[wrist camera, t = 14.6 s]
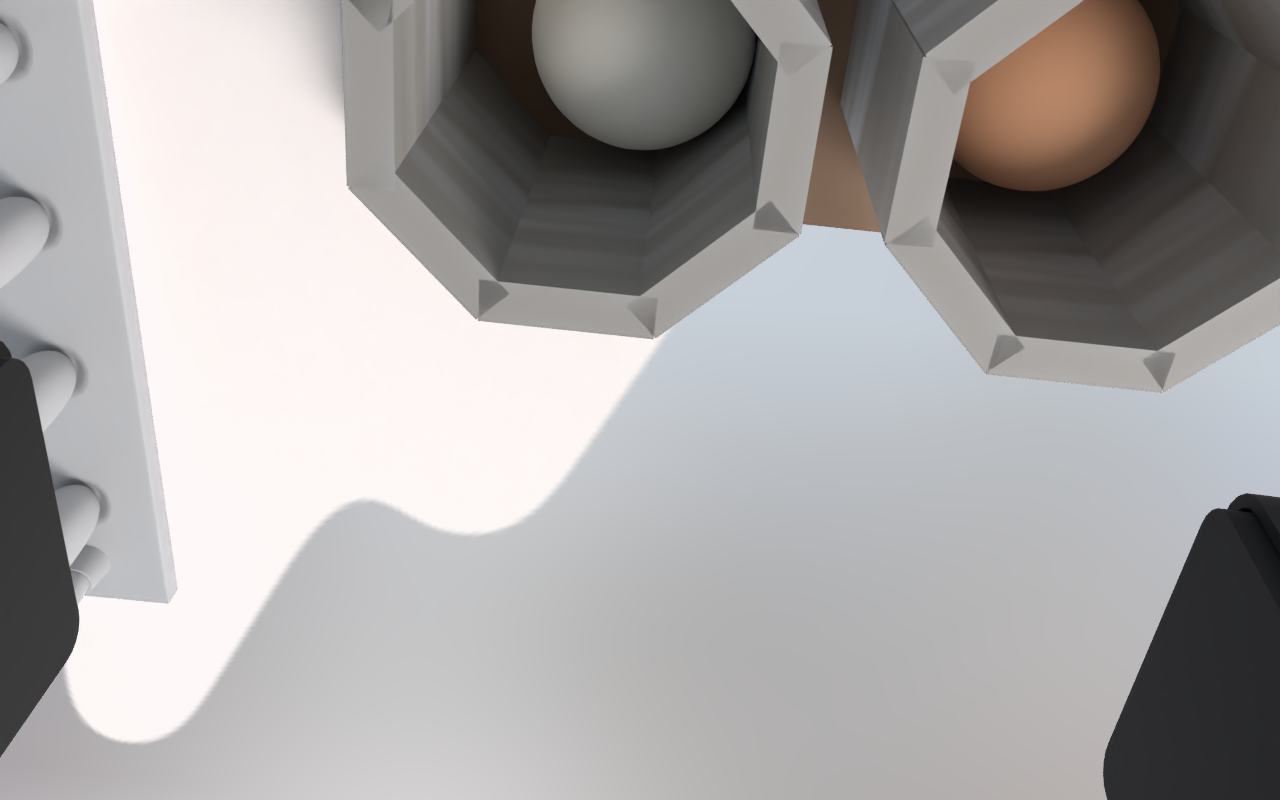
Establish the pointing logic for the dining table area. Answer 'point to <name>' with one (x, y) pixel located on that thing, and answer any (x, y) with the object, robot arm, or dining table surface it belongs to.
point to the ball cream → (642, 66)
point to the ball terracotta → (1063, 99)
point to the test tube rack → (78, 301)
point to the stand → (836, 180)
